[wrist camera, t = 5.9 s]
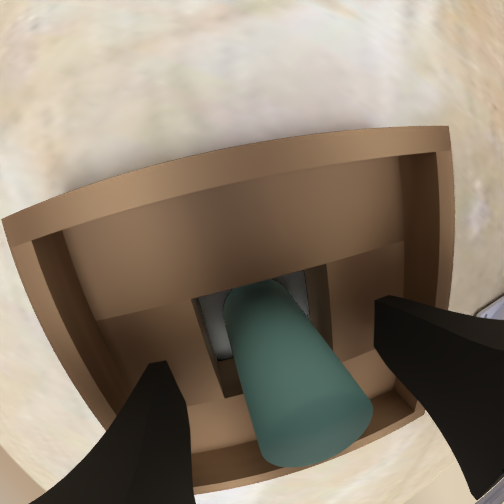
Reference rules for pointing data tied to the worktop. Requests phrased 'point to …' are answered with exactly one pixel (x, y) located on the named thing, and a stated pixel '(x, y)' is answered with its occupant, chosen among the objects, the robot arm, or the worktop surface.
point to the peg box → (240, 271)
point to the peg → (291, 378)
